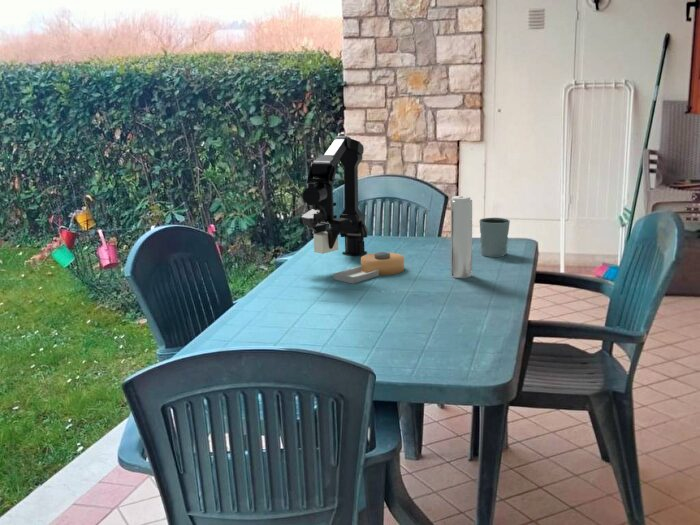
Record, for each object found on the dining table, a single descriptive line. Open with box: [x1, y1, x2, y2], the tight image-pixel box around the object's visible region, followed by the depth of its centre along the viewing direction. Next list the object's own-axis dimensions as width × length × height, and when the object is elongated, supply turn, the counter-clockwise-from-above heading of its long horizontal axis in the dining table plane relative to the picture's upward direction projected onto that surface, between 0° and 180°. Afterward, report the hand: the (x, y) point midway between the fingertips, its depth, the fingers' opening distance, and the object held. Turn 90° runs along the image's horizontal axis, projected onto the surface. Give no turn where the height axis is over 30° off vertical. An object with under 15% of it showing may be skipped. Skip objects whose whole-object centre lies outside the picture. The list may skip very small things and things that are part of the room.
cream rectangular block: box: [313, 230, 339, 255], centre depth 260 cm, size 4×7×6 cm, turn 136°
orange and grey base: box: [333, 251, 405, 284], centre depth 258 cm, size 14×25×5 cm, turn 136°
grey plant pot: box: [479, 217, 511, 258], centre depth 277 cm, size 10×10×12 cm
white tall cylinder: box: [450, 195, 473, 279], centre depth 249 cm, size 6×6×25 cm
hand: (326, 247), depth 261 cm, fingers closed on cream rectangular block, 4 cm apart
